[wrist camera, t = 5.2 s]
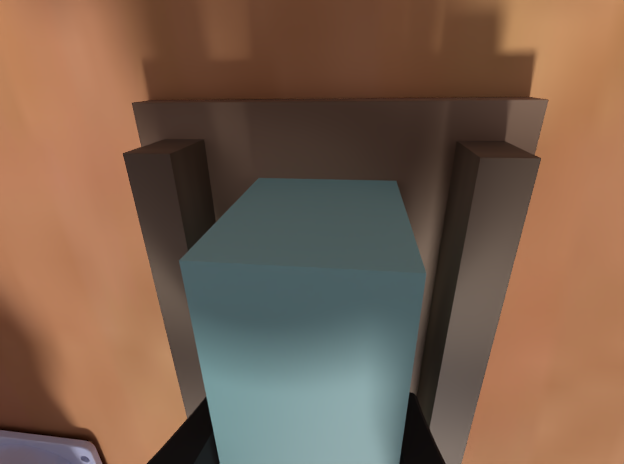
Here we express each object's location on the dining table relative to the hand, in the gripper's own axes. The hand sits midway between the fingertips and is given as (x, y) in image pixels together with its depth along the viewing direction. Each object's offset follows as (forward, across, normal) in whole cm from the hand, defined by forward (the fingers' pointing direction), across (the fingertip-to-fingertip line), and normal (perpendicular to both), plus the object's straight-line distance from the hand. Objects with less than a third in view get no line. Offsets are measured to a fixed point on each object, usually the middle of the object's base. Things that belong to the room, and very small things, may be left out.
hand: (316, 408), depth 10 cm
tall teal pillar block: (+3, 0, 0) cm, 3 cm away
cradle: (+4, 0, 0) cm, 4 cm away
